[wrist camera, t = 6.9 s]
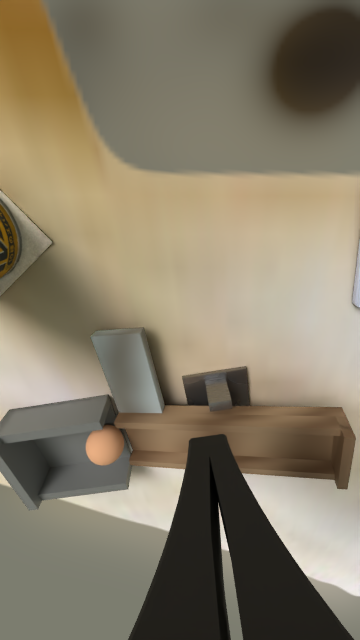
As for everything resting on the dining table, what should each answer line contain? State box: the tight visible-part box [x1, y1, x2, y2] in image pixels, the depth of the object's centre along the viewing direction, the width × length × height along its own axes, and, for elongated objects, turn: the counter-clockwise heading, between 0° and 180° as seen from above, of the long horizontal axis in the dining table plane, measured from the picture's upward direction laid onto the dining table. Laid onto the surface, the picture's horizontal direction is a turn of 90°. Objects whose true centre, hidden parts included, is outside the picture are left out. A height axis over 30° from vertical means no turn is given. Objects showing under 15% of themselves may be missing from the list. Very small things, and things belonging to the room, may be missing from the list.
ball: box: [86, 425, 124, 466], centre depth 21 cm, size 3×3×3 cm
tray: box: [0, 395, 132, 510], centre depth 22 cm, size 8×8×4 cm
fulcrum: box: [182, 366, 250, 412], centre depth 21 cm, size 5×8×3 cm, turn 10°
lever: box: [91, 328, 356, 489], centre depth 18 cm, size 16×12×2 cm
